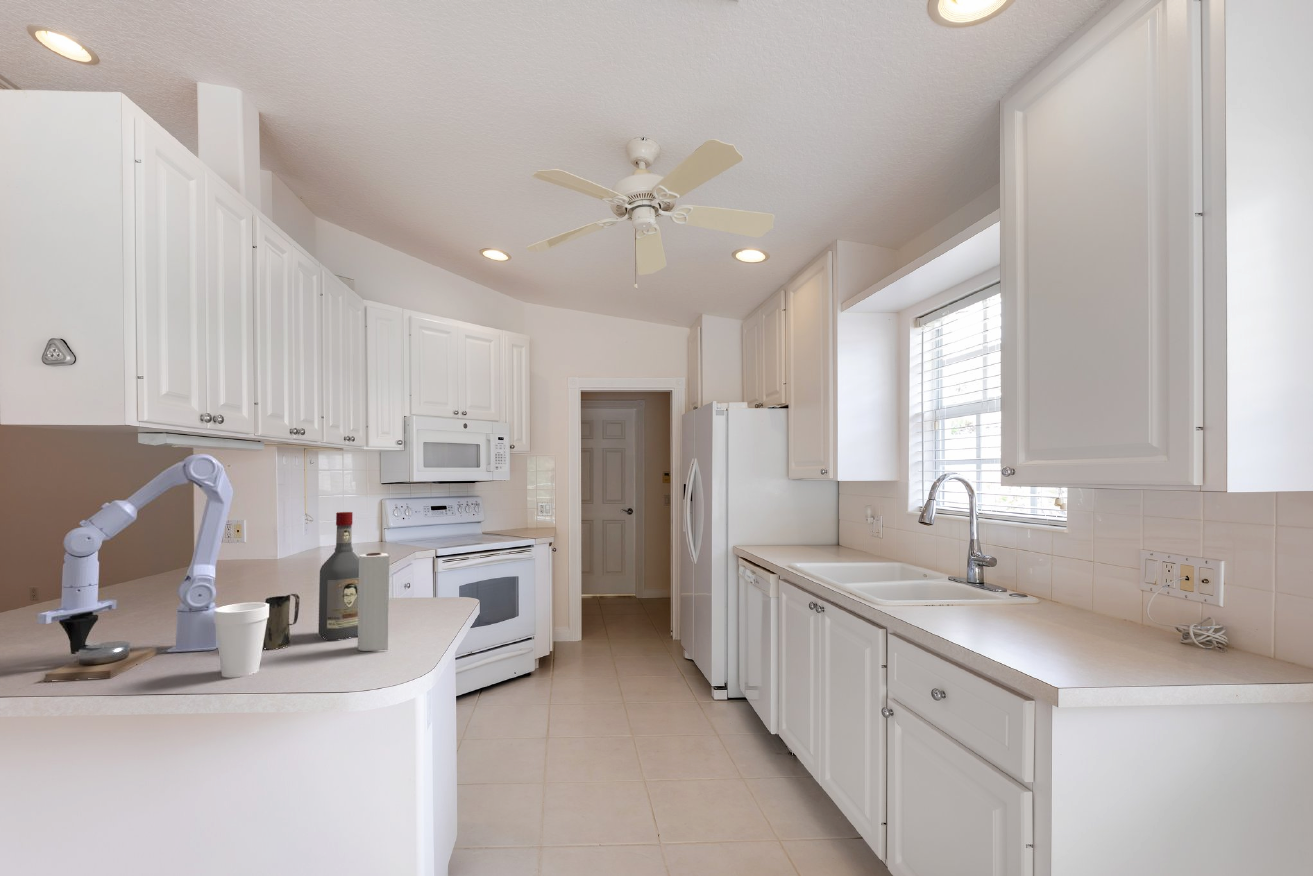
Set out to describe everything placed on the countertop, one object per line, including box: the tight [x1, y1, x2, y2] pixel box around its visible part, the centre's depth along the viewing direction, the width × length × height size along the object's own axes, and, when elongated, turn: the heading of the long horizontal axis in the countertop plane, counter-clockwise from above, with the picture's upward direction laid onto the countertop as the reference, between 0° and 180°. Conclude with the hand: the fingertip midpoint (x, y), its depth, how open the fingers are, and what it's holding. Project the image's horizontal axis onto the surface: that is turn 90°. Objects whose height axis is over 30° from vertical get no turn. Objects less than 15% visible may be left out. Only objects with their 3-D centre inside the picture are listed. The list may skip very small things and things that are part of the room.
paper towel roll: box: [357, 552, 391, 652], centre depth 149 cm, size 7×6×21 cm
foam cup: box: [214, 602, 269, 679], centre depth 132 cm, size 10×9×13 cm
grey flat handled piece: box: [70, 640, 131, 665], centre depth 136 cm, size 15×8×3 cm, turn 66°
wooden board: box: [44, 647, 157, 682], centre depth 135 cm, size 11×16×2 cm
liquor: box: [318, 511, 359, 641], centre depth 161 cm, size 9×9×30 cm
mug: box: [262, 593, 300, 650], centre depth 151 cm, size 8×6×12 cm
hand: (77, 651), depth 136 cm, fingers closed, pressing on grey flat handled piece
